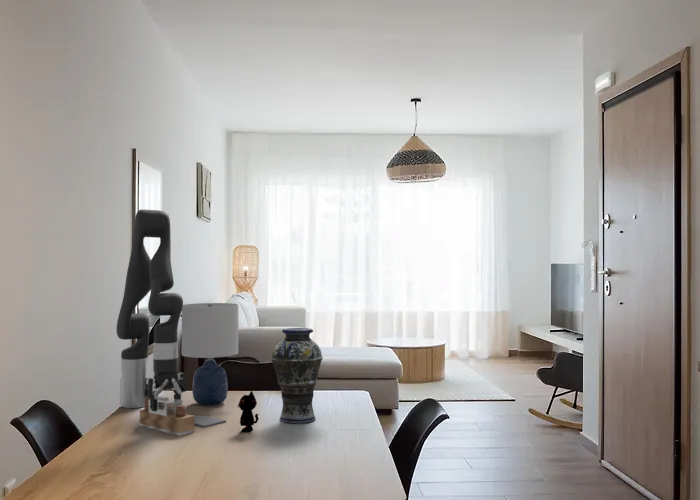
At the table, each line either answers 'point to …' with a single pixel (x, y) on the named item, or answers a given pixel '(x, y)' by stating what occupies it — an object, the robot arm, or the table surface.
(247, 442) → the table surface
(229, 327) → the lamp
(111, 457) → the table surface
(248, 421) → the cat figurine
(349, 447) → the table surface
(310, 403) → the vase
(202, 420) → the felt mat
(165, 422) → the plane body
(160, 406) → the lever cap
